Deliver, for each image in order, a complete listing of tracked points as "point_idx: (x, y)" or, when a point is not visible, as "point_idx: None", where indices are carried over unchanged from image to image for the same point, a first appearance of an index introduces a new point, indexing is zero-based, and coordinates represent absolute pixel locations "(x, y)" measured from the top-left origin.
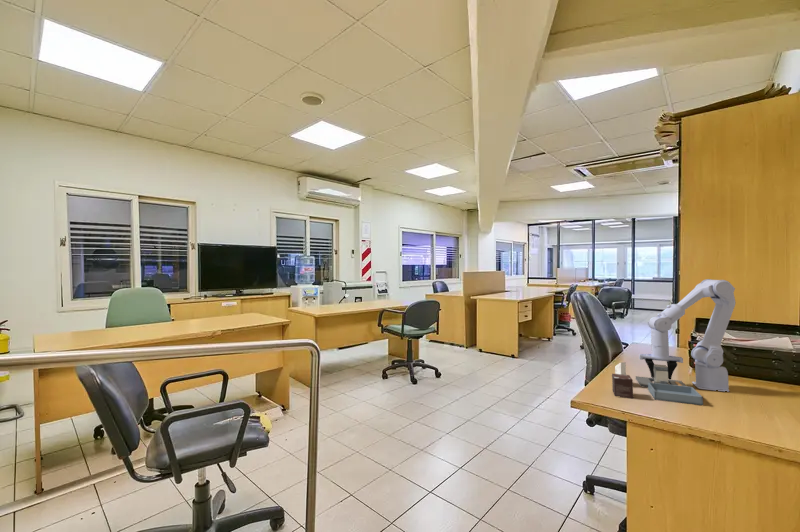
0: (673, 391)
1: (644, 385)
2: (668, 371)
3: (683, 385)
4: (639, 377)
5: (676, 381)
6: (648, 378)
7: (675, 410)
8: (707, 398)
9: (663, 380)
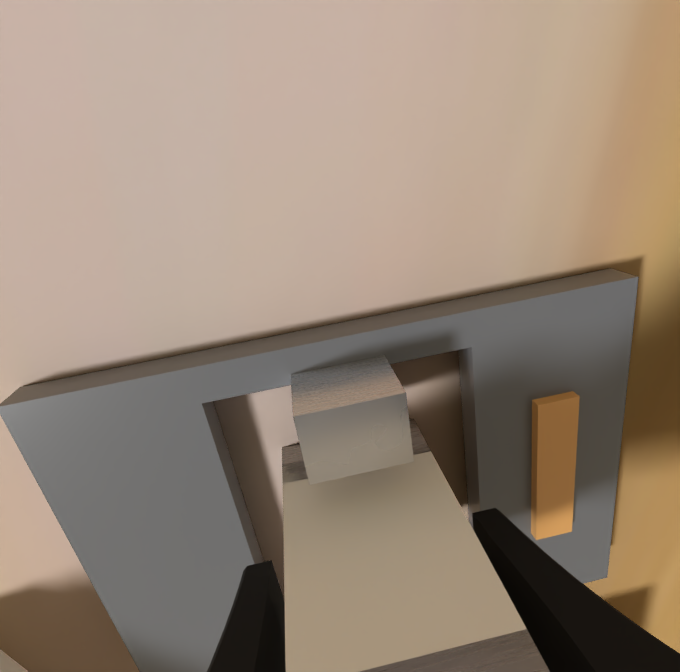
0: None
1: (192, 669)
2: (545, 648)
3: (592, 482)
4: (72, 442)
5: (562, 355)
6: (203, 422)
7: None
8: (663, 622)
9: None
